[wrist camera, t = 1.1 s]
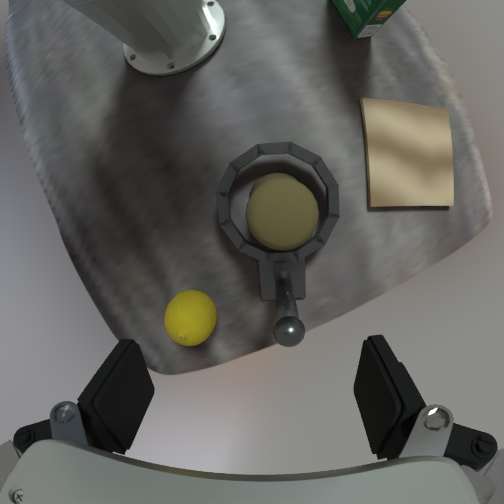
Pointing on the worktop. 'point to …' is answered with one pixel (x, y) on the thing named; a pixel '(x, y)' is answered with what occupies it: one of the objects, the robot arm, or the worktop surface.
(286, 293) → the ring stand
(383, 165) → the cork mat
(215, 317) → the lemon
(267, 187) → the pepper shaker
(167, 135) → the worktop surface
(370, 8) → the coffee box
